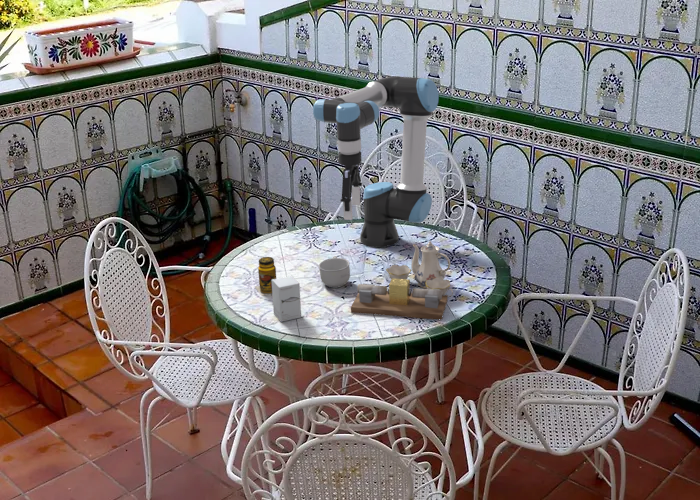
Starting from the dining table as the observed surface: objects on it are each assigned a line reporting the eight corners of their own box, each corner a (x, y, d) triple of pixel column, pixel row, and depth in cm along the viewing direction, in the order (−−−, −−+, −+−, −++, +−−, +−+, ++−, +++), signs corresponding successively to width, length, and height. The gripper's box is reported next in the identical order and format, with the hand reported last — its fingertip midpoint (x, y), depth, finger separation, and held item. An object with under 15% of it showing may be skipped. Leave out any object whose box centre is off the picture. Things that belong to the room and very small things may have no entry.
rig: (360, 294, 290) (360, 275, 288) (447, 301, 283) (447, 282, 281) (350, 312, 278) (350, 293, 275) (441, 320, 271) (441, 300, 268)
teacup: (346, 291, 293) (346, 270, 290) (316, 289, 295) (315, 268, 292) (354, 274, 305) (354, 254, 302) (325, 273, 307) (324, 253, 304)
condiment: (262, 296, 291) (259, 264, 287) (254, 287, 299) (251, 256, 294) (282, 292, 294) (280, 260, 290) (273, 282, 301) (271, 252, 297)
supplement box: (280, 322, 273) (278, 287, 268) (273, 313, 279) (270, 278, 274) (302, 318, 275) (299, 283, 271) (294, 308, 282) (292, 274, 277)
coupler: (389, 297, 283) (389, 278, 280) (412, 298, 281) (412, 279, 278) (386, 303, 278) (386, 284, 276) (409, 305, 277) (409, 286, 274)
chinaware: (379, 288, 298) (375, 247, 290) (405, 268, 309) (402, 228, 301) (446, 309, 281) (443, 266, 274) (472, 287, 292) (470, 244, 285)
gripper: (346, 140, 287) (349, 198, 296) (330, 163, 265) (333, 225, 273) (367, 140, 286) (370, 199, 294) (353, 163, 263) (356, 226, 272)
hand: (352, 211), depth 284 cm, fingers open, 13 cm apart
